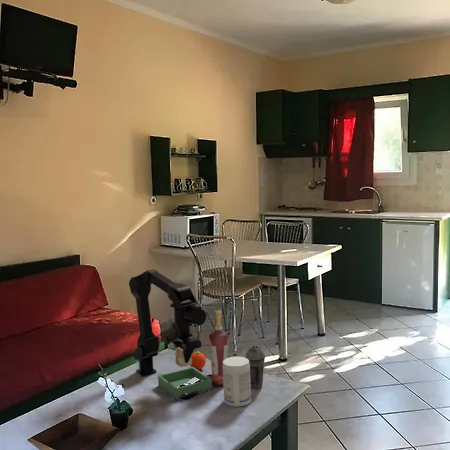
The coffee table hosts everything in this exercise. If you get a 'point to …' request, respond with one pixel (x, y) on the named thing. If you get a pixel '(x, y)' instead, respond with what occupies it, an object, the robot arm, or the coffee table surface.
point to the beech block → (181, 358)
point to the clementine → (198, 360)
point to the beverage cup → (256, 366)
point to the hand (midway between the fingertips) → (183, 360)
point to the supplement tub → (236, 381)
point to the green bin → (177, 378)
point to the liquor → (218, 349)
